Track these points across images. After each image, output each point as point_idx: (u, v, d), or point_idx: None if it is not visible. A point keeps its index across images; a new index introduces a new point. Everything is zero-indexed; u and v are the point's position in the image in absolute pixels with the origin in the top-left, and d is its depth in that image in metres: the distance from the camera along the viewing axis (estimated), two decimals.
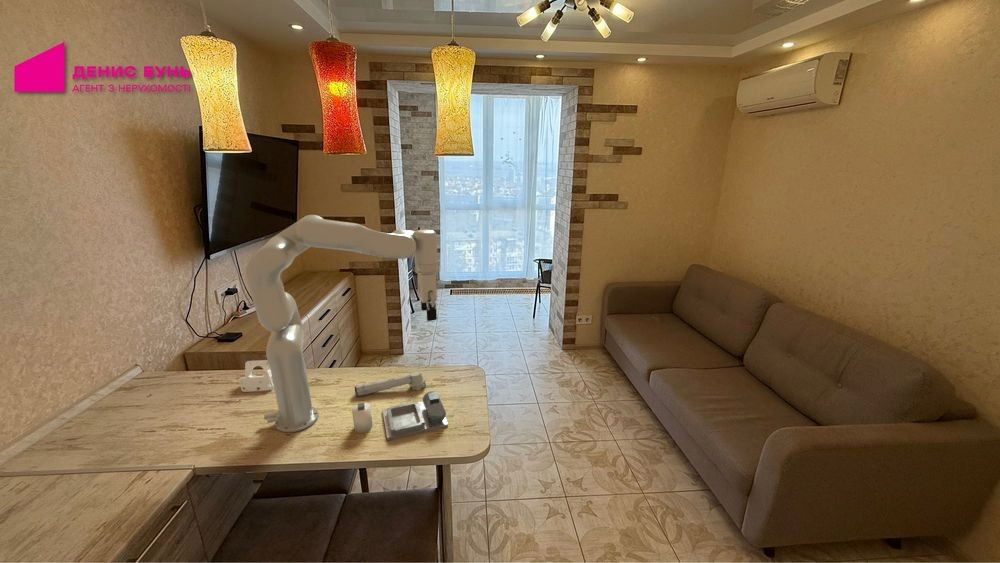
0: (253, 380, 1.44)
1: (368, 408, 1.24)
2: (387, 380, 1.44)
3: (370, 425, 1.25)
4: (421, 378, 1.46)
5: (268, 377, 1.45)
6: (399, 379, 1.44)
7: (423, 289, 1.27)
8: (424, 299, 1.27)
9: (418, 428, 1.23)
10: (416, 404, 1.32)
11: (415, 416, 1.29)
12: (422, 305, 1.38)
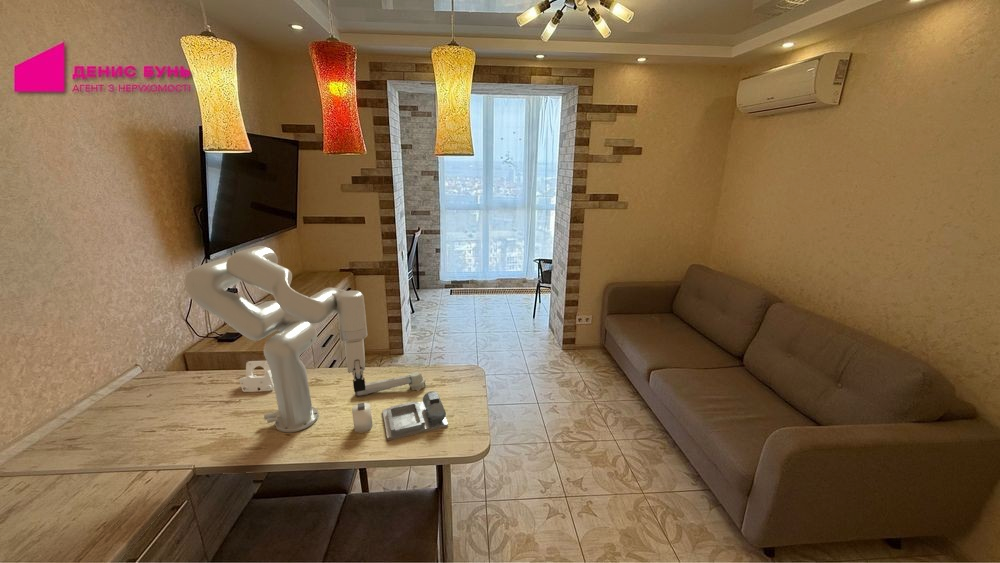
0: (253, 381, 1.44)
1: (368, 408, 1.24)
2: (387, 380, 1.44)
3: (370, 425, 1.25)
4: (421, 378, 1.46)
5: (269, 377, 1.45)
6: (399, 379, 1.44)
7: (348, 358, 1.13)
8: (349, 369, 1.14)
9: (418, 428, 1.23)
10: (416, 404, 1.32)
11: (415, 416, 1.29)
12: None
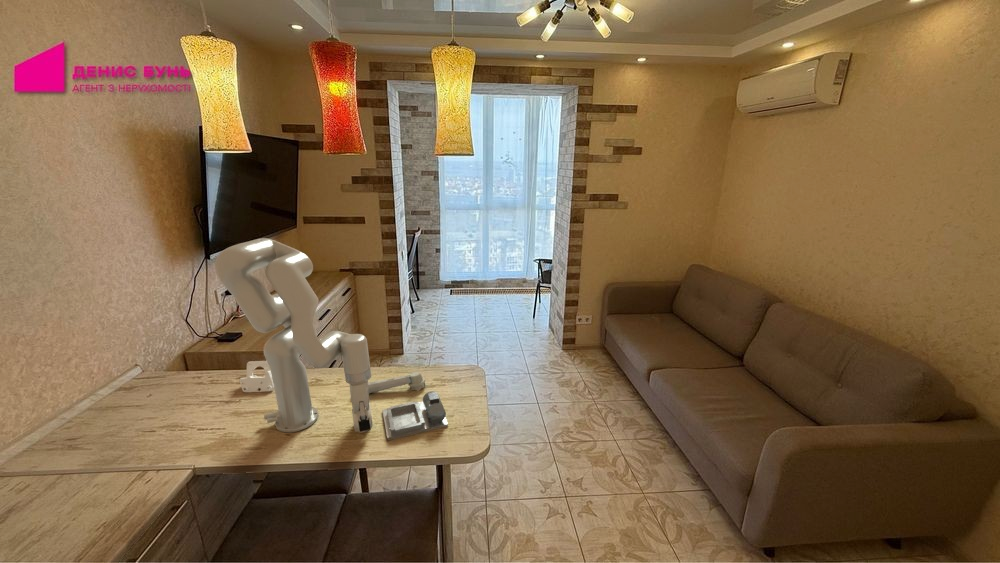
0: (254, 381, 1.44)
1: None
2: (387, 380, 1.44)
3: (370, 425, 1.25)
4: (421, 378, 1.46)
5: (269, 378, 1.44)
6: (398, 379, 1.44)
7: (353, 400, 1.17)
8: (354, 410, 1.17)
9: (418, 428, 1.23)
10: (416, 404, 1.32)
11: (415, 416, 1.29)
12: None
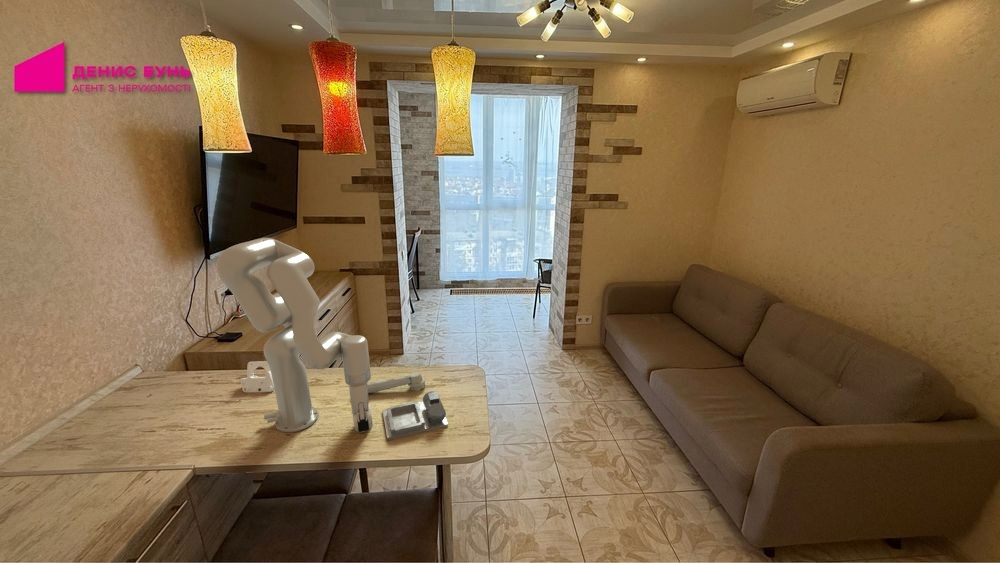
0: (254, 381, 1.44)
1: None
2: (386, 380, 1.44)
3: (370, 425, 1.25)
4: (420, 379, 1.46)
5: (269, 378, 1.44)
6: (398, 379, 1.44)
7: (352, 401, 1.17)
8: (354, 411, 1.18)
9: (418, 428, 1.23)
10: (416, 404, 1.32)
11: (415, 416, 1.29)
12: None
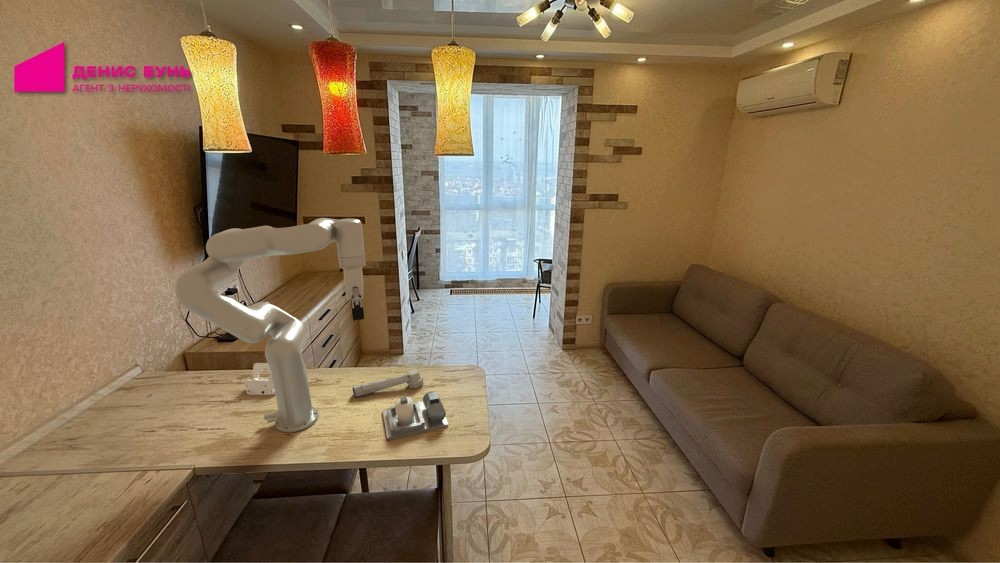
0: (258, 384, 1.42)
1: (411, 402, 1.25)
2: (385, 379, 1.44)
3: (412, 419, 1.26)
4: (419, 376, 1.47)
5: None
6: (397, 378, 1.45)
7: (346, 285, 1.13)
8: (348, 296, 1.14)
9: (418, 428, 1.23)
10: (416, 404, 1.32)
11: (415, 416, 1.29)
12: (352, 303, 1.25)
